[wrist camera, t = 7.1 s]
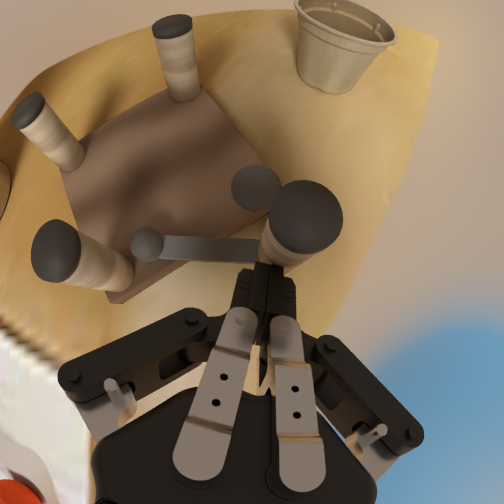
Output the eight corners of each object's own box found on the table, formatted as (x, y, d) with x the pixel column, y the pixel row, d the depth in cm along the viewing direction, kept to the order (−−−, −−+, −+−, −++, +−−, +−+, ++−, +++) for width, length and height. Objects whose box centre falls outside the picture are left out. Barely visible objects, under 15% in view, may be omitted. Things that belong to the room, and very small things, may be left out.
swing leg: (134, 267, 16) (70, 239, 9) (139, 226, 17) (84, 176, 10) (298, 276, 17) (344, 253, 9) (298, 234, 17) (340, 184, 10)
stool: (67, 167, 20) (10, 110, 11) (197, 90, 22) (186, 9, 13) (123, 306, 18) (41, 301, 9) (285, 205, 20) (321, 130, 11)
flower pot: (317, 43, 25) (334, -11, 17) (380, 87, 24) (412, 35, 16) (262, 67, 23) (271, 0, 15) (334, 120, 22) (367, 54, 14)
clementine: (0, 467, 13) (-30, 484, 6) (17, 460, 14) (-17, 480, 7) (40, 515, 12) (15, 537, 5) (63, 513, 13) (36, 541, 6)
